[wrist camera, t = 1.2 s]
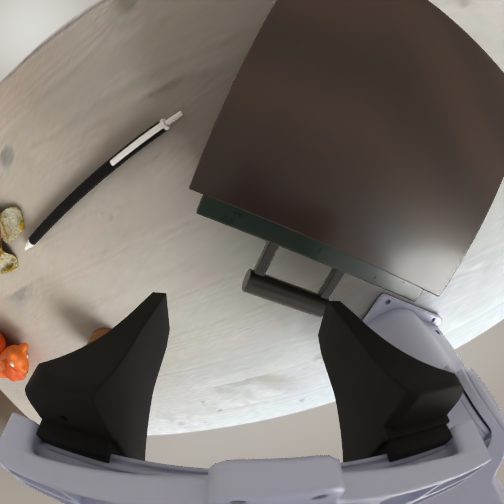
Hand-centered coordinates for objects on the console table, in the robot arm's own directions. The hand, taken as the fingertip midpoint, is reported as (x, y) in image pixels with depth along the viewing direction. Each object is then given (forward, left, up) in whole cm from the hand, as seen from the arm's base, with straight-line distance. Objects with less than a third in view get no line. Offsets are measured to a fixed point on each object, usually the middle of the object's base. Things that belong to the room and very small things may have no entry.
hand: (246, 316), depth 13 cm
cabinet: (-3, -11, -10) cm, 15 cm away
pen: (+13, +1, -10) cm, 16 cm away
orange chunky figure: (+23, +26, -10) cm, 36 cm away
